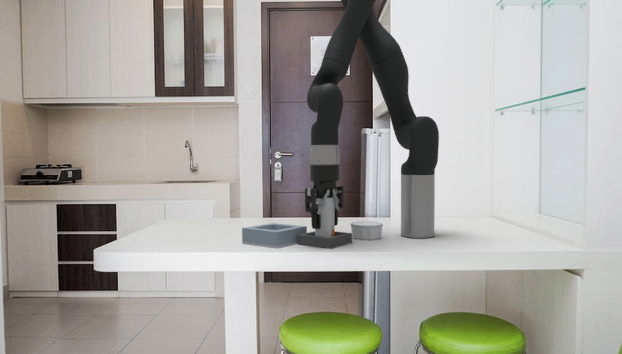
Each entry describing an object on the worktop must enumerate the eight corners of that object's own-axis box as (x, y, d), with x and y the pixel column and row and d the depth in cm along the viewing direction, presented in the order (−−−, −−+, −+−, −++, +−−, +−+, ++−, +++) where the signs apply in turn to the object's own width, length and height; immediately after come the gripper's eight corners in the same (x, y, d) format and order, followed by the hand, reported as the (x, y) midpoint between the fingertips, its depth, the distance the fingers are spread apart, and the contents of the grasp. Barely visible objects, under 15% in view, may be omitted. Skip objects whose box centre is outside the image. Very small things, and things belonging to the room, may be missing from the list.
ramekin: (389, 238, 139) (389, 223, 139) (364, 242, 134) (364, 225, 134) (368, 234, 146) (368, 219, 146) (343, 237, 141) (343, 222, 141)
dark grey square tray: (320, 239, 138) (320, 229, 138) (351, 242, 132) (351, 233, 132) (297, 244, 131) (297, 234, 130) (329, 248, 124) (329, 238, 124)
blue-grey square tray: (272, 237, 142) (272, 222, 142) (306, 241, 135) (306, 226, 135) (242, 243, 133) (242, 228, 133) (277, 248, 126) (276, 232, 125)
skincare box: (331, 246, 128) (331, 198, 128) (314, 245, 129) (314, 198, 128) (335, 241, 134) (334, 196, 133) (319, 241, 135) (318, 196, 134)
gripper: (320, 163, 123) (320, 231, 123) (352, 162, 134) (352, 225, 135) (295, 163, 127) (296, 229, 128) (328, 162, 138) (329, 222, 139)
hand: (325, 226), depth 131 cm, fingers closed on skincare box, 7 cm apart
